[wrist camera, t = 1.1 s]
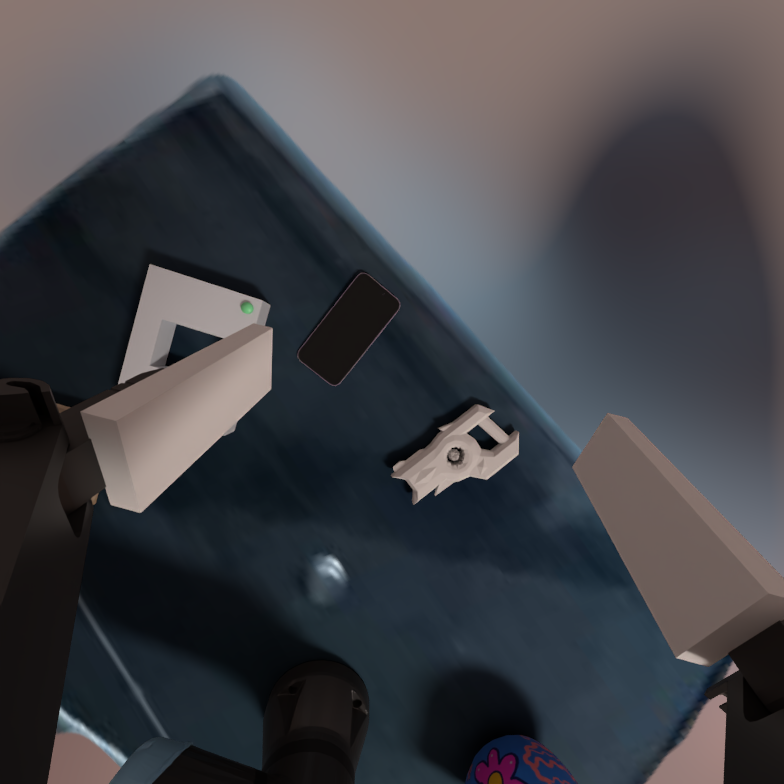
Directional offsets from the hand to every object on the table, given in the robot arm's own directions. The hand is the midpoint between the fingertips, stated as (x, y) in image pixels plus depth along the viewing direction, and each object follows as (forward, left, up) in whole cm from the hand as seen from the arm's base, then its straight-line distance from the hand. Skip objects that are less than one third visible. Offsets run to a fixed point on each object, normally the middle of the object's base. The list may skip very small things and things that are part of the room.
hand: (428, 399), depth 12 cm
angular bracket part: (-8, -13, -33) cm, 36 cm away
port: (-5, +25, -32) cm, 41 cm away
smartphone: (+4, +7, -33) cm, 34 cm away
